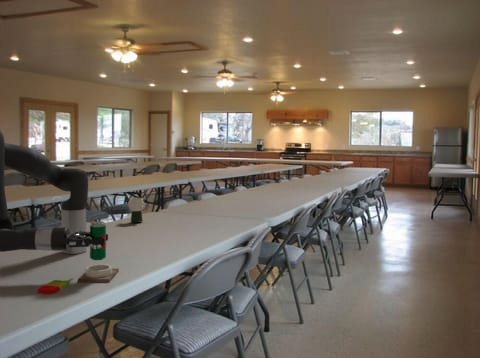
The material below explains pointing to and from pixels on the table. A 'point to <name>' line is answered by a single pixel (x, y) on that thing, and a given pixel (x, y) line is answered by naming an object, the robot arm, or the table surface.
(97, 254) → the soda can
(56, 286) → the popsicle
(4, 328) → the table surface
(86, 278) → the socket plate
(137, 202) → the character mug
